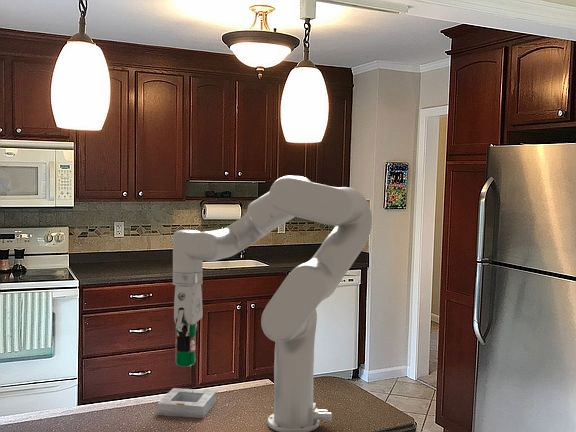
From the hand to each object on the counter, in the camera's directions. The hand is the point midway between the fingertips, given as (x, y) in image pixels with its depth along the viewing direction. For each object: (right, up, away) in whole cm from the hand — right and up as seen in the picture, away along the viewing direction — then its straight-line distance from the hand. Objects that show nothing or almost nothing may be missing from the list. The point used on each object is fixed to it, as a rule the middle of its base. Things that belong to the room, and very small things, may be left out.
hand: (187, 347), depth 161 cm
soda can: (-1, -5, 0) cm, 5 cm away
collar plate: (0, -16, +1) cm, 16 cm away
